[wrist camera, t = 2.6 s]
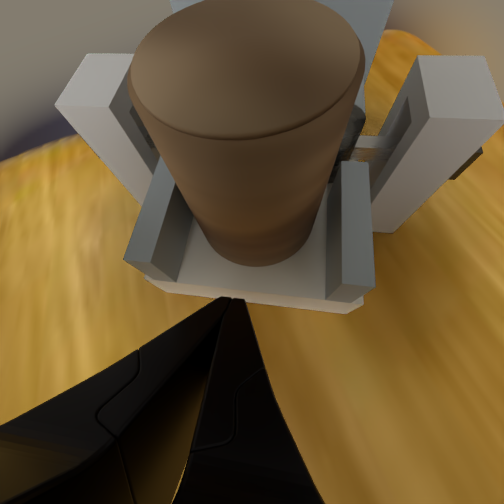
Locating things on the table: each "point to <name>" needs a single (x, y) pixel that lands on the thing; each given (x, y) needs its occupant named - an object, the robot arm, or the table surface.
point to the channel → (336, 194)
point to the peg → (249, 115)
